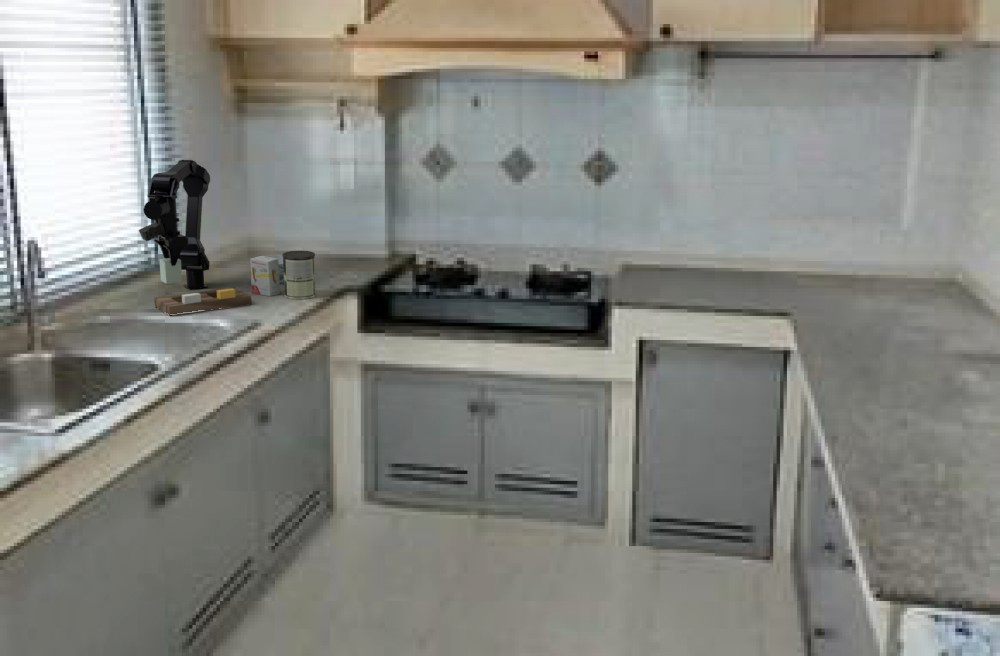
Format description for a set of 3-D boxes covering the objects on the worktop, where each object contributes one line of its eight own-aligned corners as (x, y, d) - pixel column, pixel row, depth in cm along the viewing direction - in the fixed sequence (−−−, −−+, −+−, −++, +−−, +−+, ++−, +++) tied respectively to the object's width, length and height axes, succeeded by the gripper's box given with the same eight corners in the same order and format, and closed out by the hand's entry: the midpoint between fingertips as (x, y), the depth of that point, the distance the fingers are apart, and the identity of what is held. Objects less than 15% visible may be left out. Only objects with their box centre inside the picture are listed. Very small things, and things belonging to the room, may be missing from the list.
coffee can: (277, 295, 323) (276, 253, 319) (304, 290, 330) (303, 249, 326) (295, 301, 316) (294, 258, 312) (322, 296, 323) (321, 254, 319)
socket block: (154, 307, 305) (153, 290, 304) (234, 296, 320) (234, 280, 319) (169, 316, 295) (168, 298, 294) (251, 304, 311) (250, 288, 309)
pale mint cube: (160, 280, 311) (159, 259, 309) (176, 278, 314) (175, 257, 312) (166, 283, 308) (164, 261, 306) (182, 281, 310) (180, 260, 309)
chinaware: (244, 279, 343) (243, 258, 341) (284, 274, 352) (283, 253, 350) (262, 288, 332) (261, 266, 330) (303, 283, 340) (302, 261, 338)
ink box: (250, 292, 325) (249, 257, 322) (261, 290, 329) (260, 255, 326) (269, 296, 321) (268, 261, 318) (280, 293, 325) (279, 258, 322)
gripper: (131, 212, 308) (134, 261, 312) (151, 221, 293) (154, 272, 298) (166, 209, 314) (169, 257, 318) (187, 218, 300) (190, 268, 304)
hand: (170, 264), depth 309 cm, fingers closed on pale mint cube, 5 cm apart
